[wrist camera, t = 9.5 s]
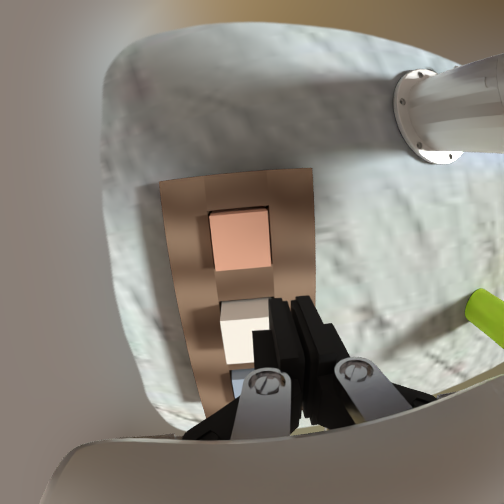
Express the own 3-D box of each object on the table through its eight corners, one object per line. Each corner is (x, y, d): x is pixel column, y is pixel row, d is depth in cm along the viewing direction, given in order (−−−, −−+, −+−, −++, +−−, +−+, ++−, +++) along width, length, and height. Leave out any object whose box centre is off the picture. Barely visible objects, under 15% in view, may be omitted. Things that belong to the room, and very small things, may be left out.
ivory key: (222, 301, 28) (219, 321, 25) (271, 297, 29) (276, 316, 25) (227, 341, 30) (226, 364, 26) (273, 337, 30) (278, 359, 26)
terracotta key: (213, 210, 28) (209, 216, 24) (263, 205, 28) (267, 211, 24) (218, 258, 29) (215, 271, 25) (266, 253, 29) (271, 266, 26)
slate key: (232, 358, 33) (231, 380, 29) (272, 355, 33) (276, 375, 29) (236, 387, 34) (236, 408, 30) (274, 383, 34) (277, 404, 31)
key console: (169, 180, 28) (158, 181, 24) (302, 168, 28) (312, 167, 25) (208, 398, 37) (206, 418, 33) (304, 389, 37) (310, 408, 33)
